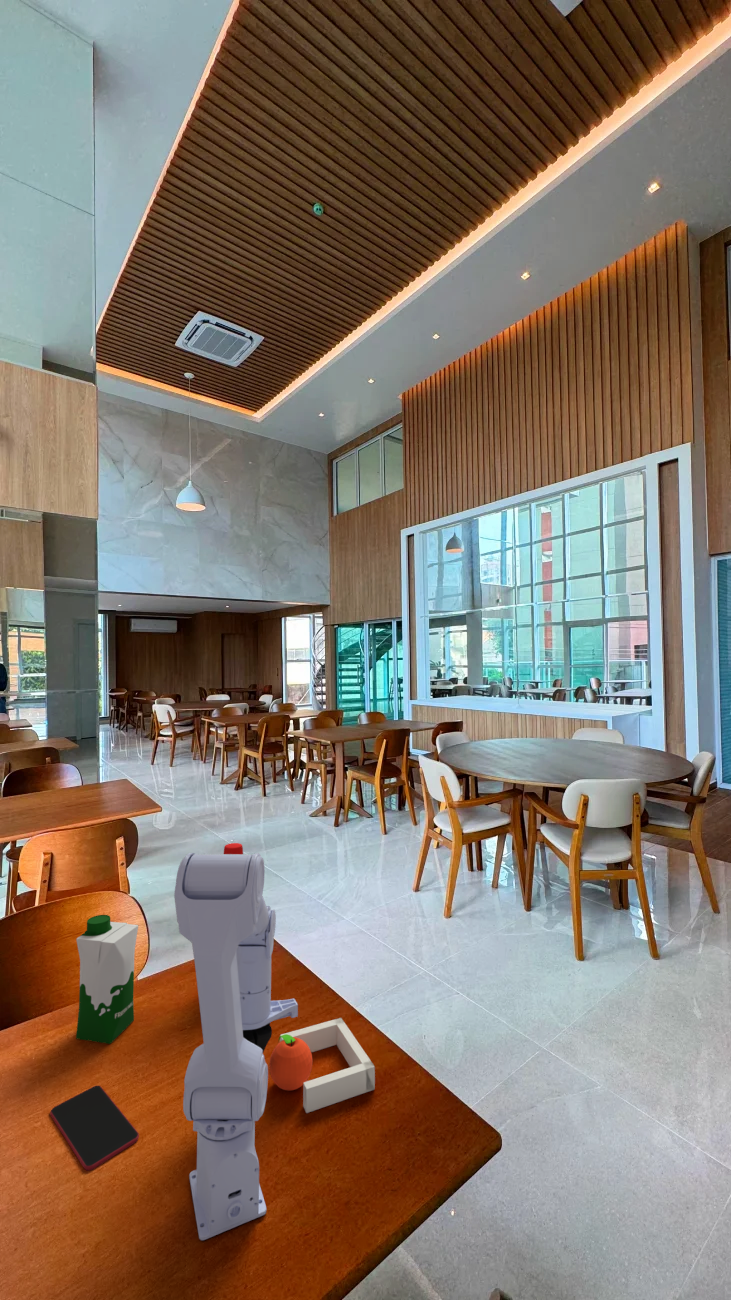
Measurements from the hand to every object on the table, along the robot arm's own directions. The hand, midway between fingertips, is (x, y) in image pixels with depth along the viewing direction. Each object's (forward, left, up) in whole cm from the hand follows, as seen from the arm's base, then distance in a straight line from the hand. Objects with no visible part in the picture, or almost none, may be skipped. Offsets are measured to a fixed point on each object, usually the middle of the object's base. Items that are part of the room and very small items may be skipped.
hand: (251, 1072), depth 86 cm
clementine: (0, -6, -4) cm, 7 cm away
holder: (0, -12, -3) cm, 13 cm away
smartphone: (+4, +22, -4) cm, 23 cm away
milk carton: (+27, +21, -4) cm, 35 cm away
